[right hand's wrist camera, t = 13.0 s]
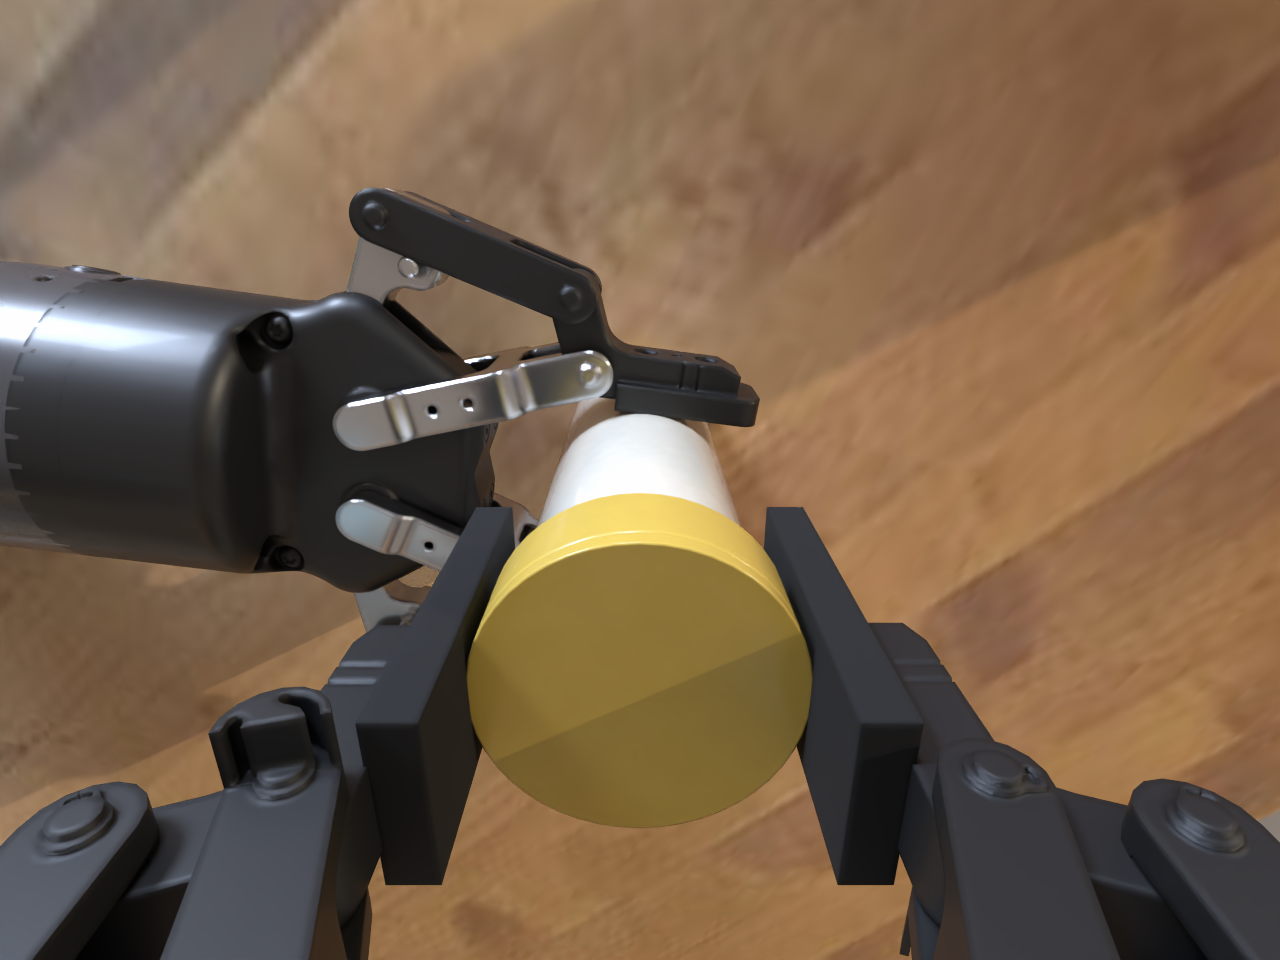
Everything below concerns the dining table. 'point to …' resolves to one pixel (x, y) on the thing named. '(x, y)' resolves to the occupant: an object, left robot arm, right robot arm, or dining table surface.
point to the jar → (636, 460)
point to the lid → (639, 664)
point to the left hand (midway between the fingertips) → (731, 494)
